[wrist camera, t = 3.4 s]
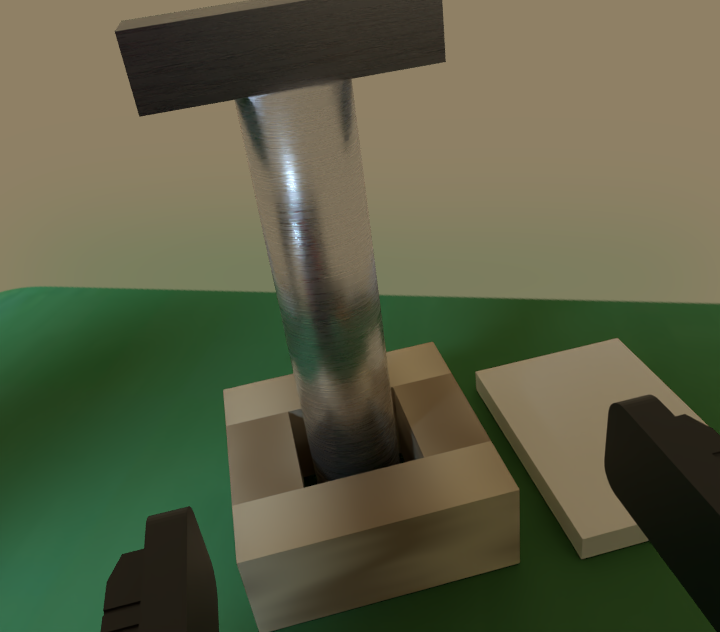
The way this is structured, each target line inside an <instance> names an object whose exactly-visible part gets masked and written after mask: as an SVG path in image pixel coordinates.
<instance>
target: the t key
mask: <svg viewBox="0 0 720 632" xmlns="http://www.w3.org/2000/svg"><path fill="white" fill-rule="evenodd" d="M115 34H116V37H117V41H118V44H119V48H120V51H121V55H122V58H123V61H124V65H125V68H126V72H127V75H128V79H129V82H130V86H131V89H132V92H133V96H134V99H135V103H136V106H137V109H138V113H139V116H145V115H151V114H156V113H162V112H168V111H173V110H179V109H184V108H190V107H196V106H201V105H207V104H213V103H218V102H224V101H229V100H235V104H236V109H237V114H238V118H239V123H240V127H241V132H242V137H243V141H244V146H245V150H246V155H247V160H248V164H249V169H250V173H251V178H252V183H253V187H254V192H255V197H256V201H257V206H258V211H259V215H260V220H261V224H262V229H263V234H264V238H265V243H266V248H267V252H268V257H269V262H270V266H271V271H272V275H273V280H274V285H275V289H276V294H277V299H278V303H279V308H280V312H281V317H282V322H283V326H284V331H285V336H286V340H287V345H288V350H289V354H290V359H291V363H292V368H293V373H294V377H295V382H296V387H297V391H298V396H299V400H300V405H301V410H302V414H303V419H304V424H305V428H306V433H307V437H308V442H309V447H310V451H311V456H312V461H313V465H314V470H315V474H316V479H317V484H321V483H325V482H329V481H333V480H337V479H341V478H345V477H349V476H353V475H357V474H361V473H365V472H369V471H373V470H377V469H381V468H385V467H389V466H393V465H397V464H400V458H399V450H398V442H397V434H396V426H395V418H394V410H393V403H392V395H391V387H390V379H389V371H388V363H387V355H386V347H385V339H384V332H383V324H382V316H381V308H380V300H379V292H378V285H377V276H376V268H375V261H374V253H373V245H372V237H371V229H370V221H369V214H368V205H367V198H366V190H365V182H364V174H363V166H362V158H361V150H360V143H359V134H358V127H357V119H356V111H355V104H354V95H353V87H352V78H358V77H364V76H369V75H375V74H380V73H385V72H392V71H397V70H403V69H408V68H414V67H420V66H425V65H431V64H436V63H442V62H446V61H445V43H444V25H443V7H442V0H249V1H243V2H236V3H231V4H224V5H218V6H211V7H205V8H199V9H193V10H186V11H180V12H174V13H168V14H162V15H155V16H149V17H143V18H137V19H131V20H125V21H121V23H120V24H119V26H118V28H117V29H116V30H115Z"/></svg>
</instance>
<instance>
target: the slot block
mask: <svg viewBox="0 0 720 632" xmlns="http://www.w3.org/2000/svg"><path fill="white" fill-rule="evenodd" d="M386 355H387V363H388V371H389V379H390V387H391V395H392V403H393V410H394V418H395V426H396V434H397V442H398V450H399V453H401V454H402V456H403V459H404V461H405V463H401V464H397V465H393V466H389V467H385V468H381V469H377V470H373V471H369V472H365V473H361V474H357V475H353V476H349V477H345V478H341V479H337V480H333V481H329V482H325V483H321V484H317V485H313V486H309V487H305V484H304V479H303V477H307V476H311V475H315V470H314V465H313V461H312V456H311V451H310V447H309V442H308V437H307V433H306V428H305V424H304V419H303V414H302V410H301V405H300V400H299V396H298V391H297V387H296V382H295V377H294V374H290V375H286V376H281V377H277V378H273V379H268V380H264V381H259V382H255V383H251V384H246V385H242V386H238V387H233V388H229V389H225V390H223V393H224V406H225V418H226V431H227V444H228V457H229V470H230V483H231V496H232V509H233V522H234V535H235V548H236V561H237V566H238V569H239V572H240V575H241V578H242V581H243V584H244V587H245V590H246V593H247V596H248V599H249V603H250V606H251V609H252V612H253V615H254V618H255V621H256V624H257V627H258V630H259V632H270V631H274V630H278V629H281V628H285V627H289V626H292V625H296V624H300V623H303V622H307V621H310V620H314V619H318V618H321V617H325V616H329V615H332V614H336V613H340V612H343V611H347V610H351V609H354V608H358V607H361V606H365V605H369V604H372V603H376V602H380V601H383V600H387V599H391V598H394V597H398V596H401V595H405V594H409V593H412V592H416V591H420V590H423V589H427V588H431V587H434V586H438V585H442V584H445V583H449V582H452V581H456V580H460V579H463V578H467V577H471V576H474V575H478V574H482V573H485V572H489V571H492V570H496V569H500V568H503V567H507V566H511V565H514V564H518V563H520V490H519V488H518V486H517V485H516V483H515V481H514V479H513V478H512V476H511V474H510V473H509V471H508V469H507V467H506V466H505V464H504V462H503V461H502V459H501V457H500V455H499V454H498V452H497V450H496V449H495V447H494V445H493V443H492V442H491V440H490V438H489V437H488V435H487V433H486V432H485V430H484V428H483V426H482V425H481V423H480V421H479V420H478V418H477V416H476V414H475V413H474V411H473V409H472V408H471V406H470V404H469V402H468V401H467V399H466V397H465V396H464V394H463V392H462V390H461V389H460V387H459V385H458V384H457V382H456V380H455V379H454V377H453V375H452V373H451V372H450V370H449V368H448V367H447V365H446V363H445V361H444V360H443V358H442V356H441V355H440V353H439V351H438V349H437V348H436V346H435V344H434V343H433V342H429V343H425V344H421V345H416V346H412V347H407V348H403V349H399V350H394V351H390V352H386Z"/></svg>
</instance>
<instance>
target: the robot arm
mask: <svg viewBox="0 0 720 632" xmlns="http://www.w3.org/2000/svg"><path fill="white" fill-rule="evenodd" d="M604 467H605V473H606V476H607V480H608V482H609V485H610V487H611V489H612V491H613V492H614V494H615V495H616V497H617V498H618V499H619V501H620V502H621V503H622V505H623V506H624V507H625V509H626V510H627V511H628V513H629V514H630V515H631V517H632V518H633V520H634V521H635V522H636V524H637V525H638V526H639V528H640V529H641V530H642V532H643V533H644V534H645V536H646V537H647V538H648V540H649V541H650V542H651V544H652V545H653V546H654V548H655V549H656V551H657V552H658V553H659V555H660V556H661V557H662V559H663V560H664V561H665V563H666V564H667V565H668V567H669V568H670V569H671V571H672V572H673V573H674V575H675V576H676V577H677V579H678V580H679V582H680V583H681V584H682V586H683V587H684V588H685V590H686V591H687V592H688V594H689V595H690V596H691V598H692V599H693V600H694V602H695V603H696V604H697V606H698V607H699V608H700V610H701V611H702V613H703V614H704V615H705V617H706V618H707V619H708V621H709V622H710V623H711V625H712V626H713V627H714V629H715V630H716V631H717V632H720V435H719V434H718V433H717V432H716V431H715V430H714V429H713V428H711V427H709V426H707V425H705V424H703V423H701V422H699V421H698V420H696V419H694V418H692V417H690V416H688V415H686V414H683V415H679V416H675V415H674V414H673V413H672V412H671V411H670V410H669V409H668V408H667V407H666V406H665V405H664V404H663V403H662V402H661V401H660V400H659V399H658V398H657V397H655V396H653V395H644V396H640V397H636V398H632V399H628V400H624V401H620V402H616V403H613V404H611V405H610V407H609V411H608V421H607V433H606V445H605V457H604ZM103 611H104V616H103V617H102V625H101V632H219V622H218V599H217V588H216V581H215V575H214V571H213V567H212V563H211V560H210V557H209V554H208V551H207V549H206V546H205V543H204V540H203V537H202V535H201V532H200V529H199V526H198V523H197V521H196V518H195V515H194V512H193V510H192V508H191V507H190V506H189V507H185V508H180V509H176V510H172V511H168V512H164V513H160V514H156V515H152V516H149V517H148V518H147V521H146V531H145V545H144V549H141V550H137V551H133V552H129V553H125V554H122V555H121V557H120V559H119V561H118V563H117V564H116V566H115V568H114V570H113V572H112V574H111V575H110V577H109V579H108V581H107V585H106V593H105V601H104V609H103Z"/></svg>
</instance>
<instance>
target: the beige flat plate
mask: <svg viewBox="0 0 720 632" xmlns="http://www.w3.org/2000/svg"><path fill="white" fill-rule="evenodd" d="M475 374H476V390H477V391H478V393H479V394H480V396H481V398H482V399H483V401H484V403H485V404H486V406H487V407H488V409H489V411H490V412H491V414H492V416H493V417H494V419H495V420H496V422H497V424H498V425H499V427H500V428H501V430H502V432H503V433H504V435H505V437H506V438H507V440H508V441H509V443H510V445H511V446H512V448H513V449H514V451H515V453H516V454H517V456H518V458H519V459H520V461H521V462H522V464H523V466H524V467H525V469H526V471H527V472H528V474H529V475H530V477H531V479H532V480H533V482H534V483H535V485H536V487H537V488H538V490H539V492H540V493H541V495H542V496H543V498H544V500H545V501H546V503H547V504H548V506H549V508H550V509H551V511H552V513H553V514H554V516H555V517H556V519H557V521H558V522H559V524H560V526H561V527H562V529H563V530H564V532H565V534H566V535H567V537H568V538H569V540H570V542H571V543H572V545H573V547H574V548H575V550H576V551H577V553H578V555H579V556H580V558H581V559H585V558H588V557H592V556H596V555H599V554H603V553H606V552H610V551H614V550H617V549H621V548H624V547H628V546H632V545H635V544H639V543H642V542H646V541H649V540H648V538H647V537H646V536H645V534H644V533H643V532H642V530H641V529H640V528H639V526H638V525H637V524H636V522H635V521H634V520H633V518H632V517H631V515H630V514H629V513H628V511H627V510H626V509H625V507H624V506H623V505H622V503H621V502H620V501H619V499H618V498H617V497H616V495H615V494H614V492H613V491H612V489H611V487H610V485H609V482H608V480H607V476H606V473H605V467H604V457H605V445H606V433H607V421H608V411H609V407H610V405H611V404H613V403H616V402H620V401H624V400H628V399H632V398H636V397H640V396H644V395H653V396H655V397H657V398H658V399H659V400H660V401H661V402H662V403H663V404H664V405H665V406H666V407H667V408H668V409H669V410H670V411H671V412H672V413H673V414H674V415H675V416H679V415H683V414H686V415H688V416H690V417H692V418H694V419H696V420H698V421H699V422H701V423H703V424H705V425H707V424H706V423H705V422H704V421H703V420H702V419H701V418H700V417H699V416H698V415H697V414H696V413H695V412H693V411H692V410H691V409H690V408H689V407H688V406H687V405H686V404H685V403H684V402H683V401H682V400H681V399H680V398H679V397H678V396H677V395H676V394H675V393H674V392H673V391H672V390H671V389H670V388H669V387H668V386H667V385H666V384H665V383H664V382H662V381H661V380H660V379H659V378H658V377H657V376H656V375H655V374H654V373H653V372H652V371H651V370H650V369H649V368H648V367H647V366H646V365H645V364H644V363H643V362H642V361H641V360H640V359H639V358H638V357H637V356H636V355H635V354H634V353H633V352H631V351H630V350H629V349H628V348H627V347H626V346H625V345H624V344H623V343H622V342H621V341H620V340H619V339H618V338H616V339H611V340H607V341H603V342H599V343H595V344H590V345H586V346H582V347H578V348H573V349H569V350H565V351H561V352H557V353H552V354H548V355H544V356H540V357H536V358H531V359H527V360H523V361H519V362H514V363H510V364H506V365H502V366H498V367H493V368H489V369H485V370H481V371H476V372H475ZM707 426H708V425H707Z"/></svg>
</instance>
